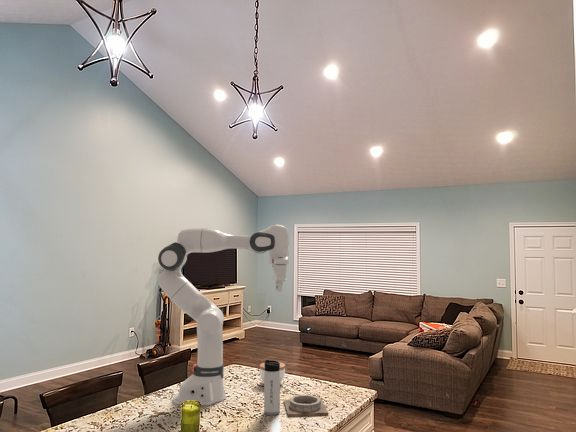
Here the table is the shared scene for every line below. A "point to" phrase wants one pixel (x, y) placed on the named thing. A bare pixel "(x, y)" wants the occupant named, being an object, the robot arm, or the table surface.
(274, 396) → the travel mug
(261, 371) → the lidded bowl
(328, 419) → the table surface
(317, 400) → the collar board
